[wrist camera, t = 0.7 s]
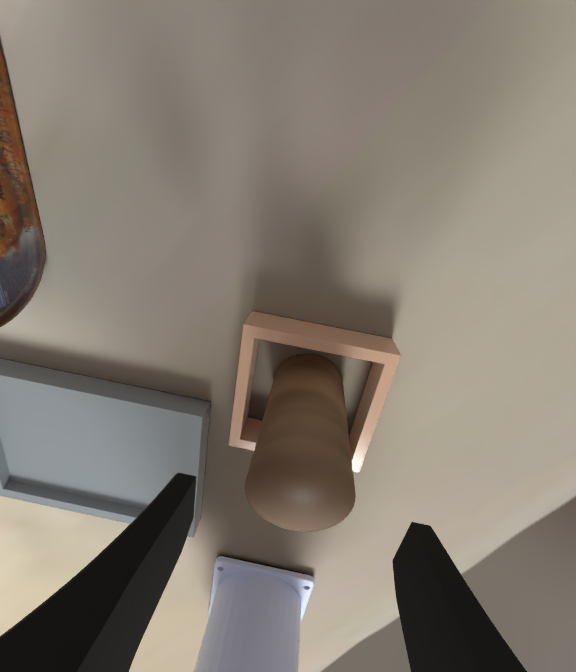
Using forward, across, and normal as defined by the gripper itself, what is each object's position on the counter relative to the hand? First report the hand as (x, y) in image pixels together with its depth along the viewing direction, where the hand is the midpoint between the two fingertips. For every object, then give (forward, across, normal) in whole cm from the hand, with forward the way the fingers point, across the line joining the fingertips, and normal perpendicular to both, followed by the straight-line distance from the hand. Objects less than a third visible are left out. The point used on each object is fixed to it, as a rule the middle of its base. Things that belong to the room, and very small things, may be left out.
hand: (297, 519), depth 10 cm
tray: (+8, +13, +8) cm, 18 cm away
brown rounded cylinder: (+8, 0, 0) cm, 9 cm away
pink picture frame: (+8, 0, 0) cm, 9 cm away
